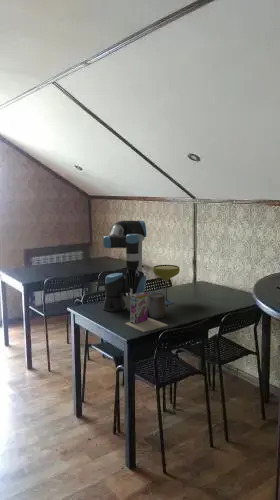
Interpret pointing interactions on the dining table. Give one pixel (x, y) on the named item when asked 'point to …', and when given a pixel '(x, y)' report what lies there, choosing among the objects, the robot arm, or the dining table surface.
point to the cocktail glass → (166, 275)
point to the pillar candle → (157, 305)
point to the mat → (147, 325)
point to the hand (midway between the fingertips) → (132, 298)
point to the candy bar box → (138, 308)
